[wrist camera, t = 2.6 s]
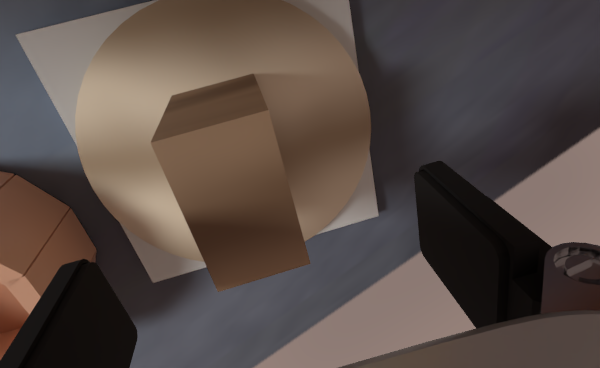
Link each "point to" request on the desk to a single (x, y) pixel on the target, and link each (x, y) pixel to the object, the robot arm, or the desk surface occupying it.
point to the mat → (78, 55)
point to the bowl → (32, 249)
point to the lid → (224, 132)
